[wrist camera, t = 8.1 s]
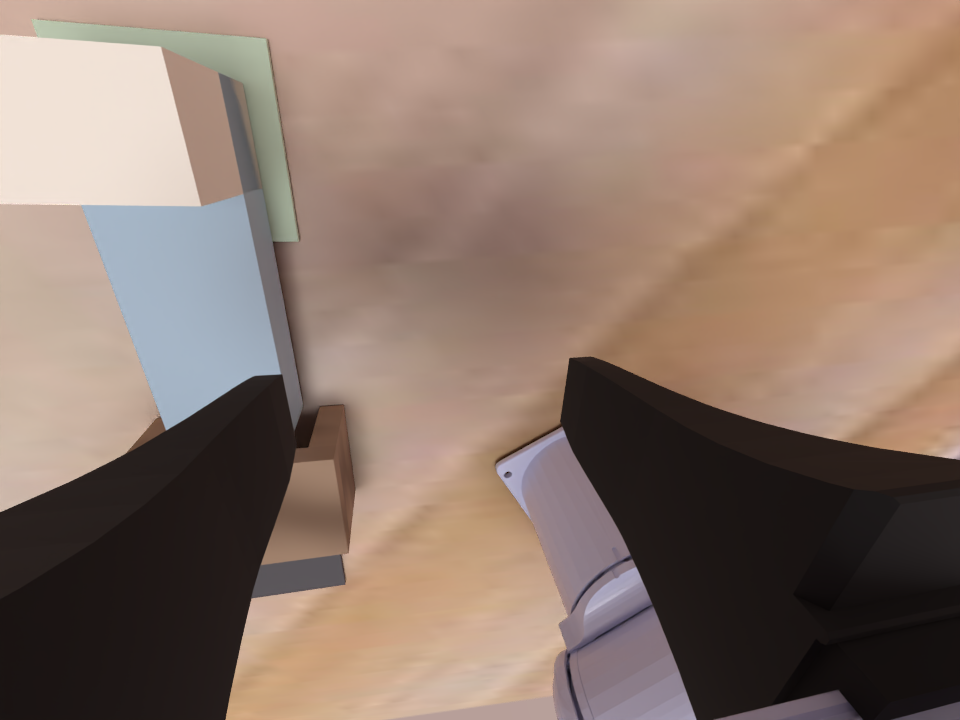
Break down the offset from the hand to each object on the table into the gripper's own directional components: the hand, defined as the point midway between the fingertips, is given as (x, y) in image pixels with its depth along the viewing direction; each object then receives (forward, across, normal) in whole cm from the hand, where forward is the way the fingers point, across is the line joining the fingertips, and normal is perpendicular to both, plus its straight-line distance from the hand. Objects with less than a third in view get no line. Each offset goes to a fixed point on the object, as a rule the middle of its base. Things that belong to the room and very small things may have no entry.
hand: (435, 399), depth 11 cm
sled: (+10, +8, -1) cm, 13 cm away
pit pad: (+10, +8, +17) cm, 22 cm away
